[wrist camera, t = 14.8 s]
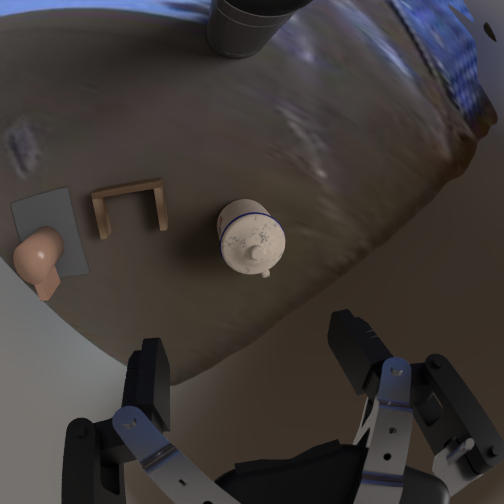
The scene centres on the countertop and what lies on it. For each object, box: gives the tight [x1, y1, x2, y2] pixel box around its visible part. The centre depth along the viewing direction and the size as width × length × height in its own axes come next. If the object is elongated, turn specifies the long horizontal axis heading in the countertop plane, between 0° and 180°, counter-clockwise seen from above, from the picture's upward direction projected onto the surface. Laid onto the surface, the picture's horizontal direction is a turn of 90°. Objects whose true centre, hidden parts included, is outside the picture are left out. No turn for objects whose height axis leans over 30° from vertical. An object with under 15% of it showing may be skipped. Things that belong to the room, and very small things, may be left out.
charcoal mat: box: [11, 187, 90, 277], centre depth 38 cm, size 16×14×1 cm
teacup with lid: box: [217, 199, 285, 278], centre depth 40 cm, size 12×9×12 cm
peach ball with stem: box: [13, 226, 64, 301], centre depth 35 cm, size 10×7×8 cm, turn 1°
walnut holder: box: [91, 178, 169, 239], centre depth 38 cm, size 8×11×3 cm
